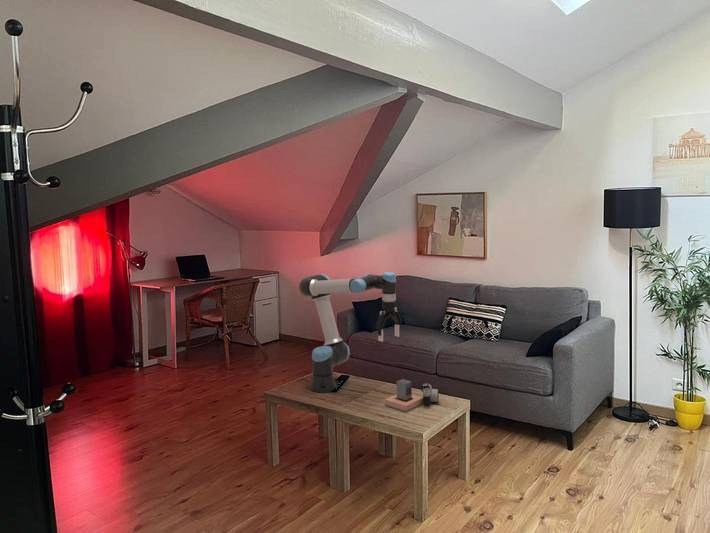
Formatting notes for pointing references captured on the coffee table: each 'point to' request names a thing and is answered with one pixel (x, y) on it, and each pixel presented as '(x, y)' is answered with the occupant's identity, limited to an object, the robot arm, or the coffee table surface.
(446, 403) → the coffee table surface
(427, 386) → the camera
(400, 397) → the grey wood-topped pillar
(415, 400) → the pink square frame
